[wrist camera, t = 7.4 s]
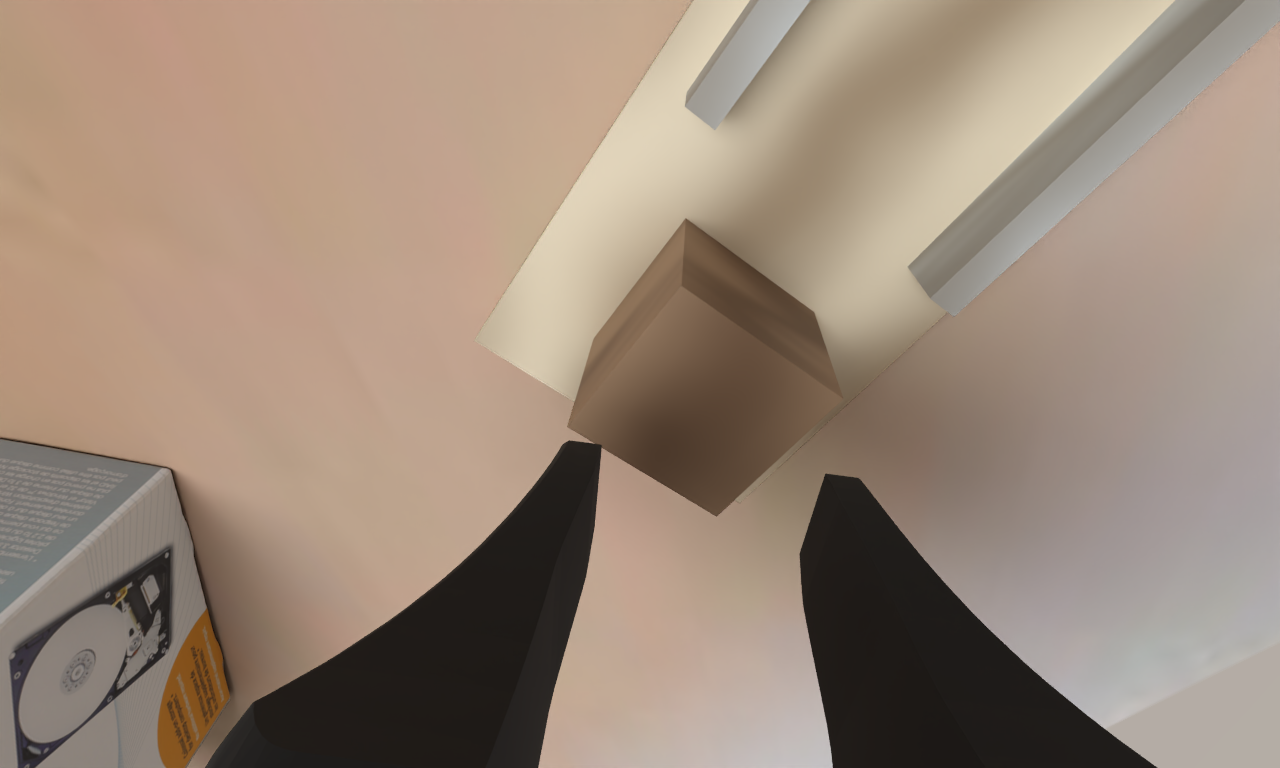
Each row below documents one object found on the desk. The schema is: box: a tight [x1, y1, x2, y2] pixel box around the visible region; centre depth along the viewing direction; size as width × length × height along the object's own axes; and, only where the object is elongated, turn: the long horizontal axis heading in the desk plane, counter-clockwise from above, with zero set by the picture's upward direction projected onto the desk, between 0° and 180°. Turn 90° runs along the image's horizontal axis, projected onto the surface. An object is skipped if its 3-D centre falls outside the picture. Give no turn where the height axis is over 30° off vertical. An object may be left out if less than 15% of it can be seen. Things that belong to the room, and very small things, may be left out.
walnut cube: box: [567, 218, 843, 517], centre depth 17 cm, size 4×4×4 cm
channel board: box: [474, 0, 1280, 503], centre depth 15 cm, size 10×26×4 cm, turn 145°
